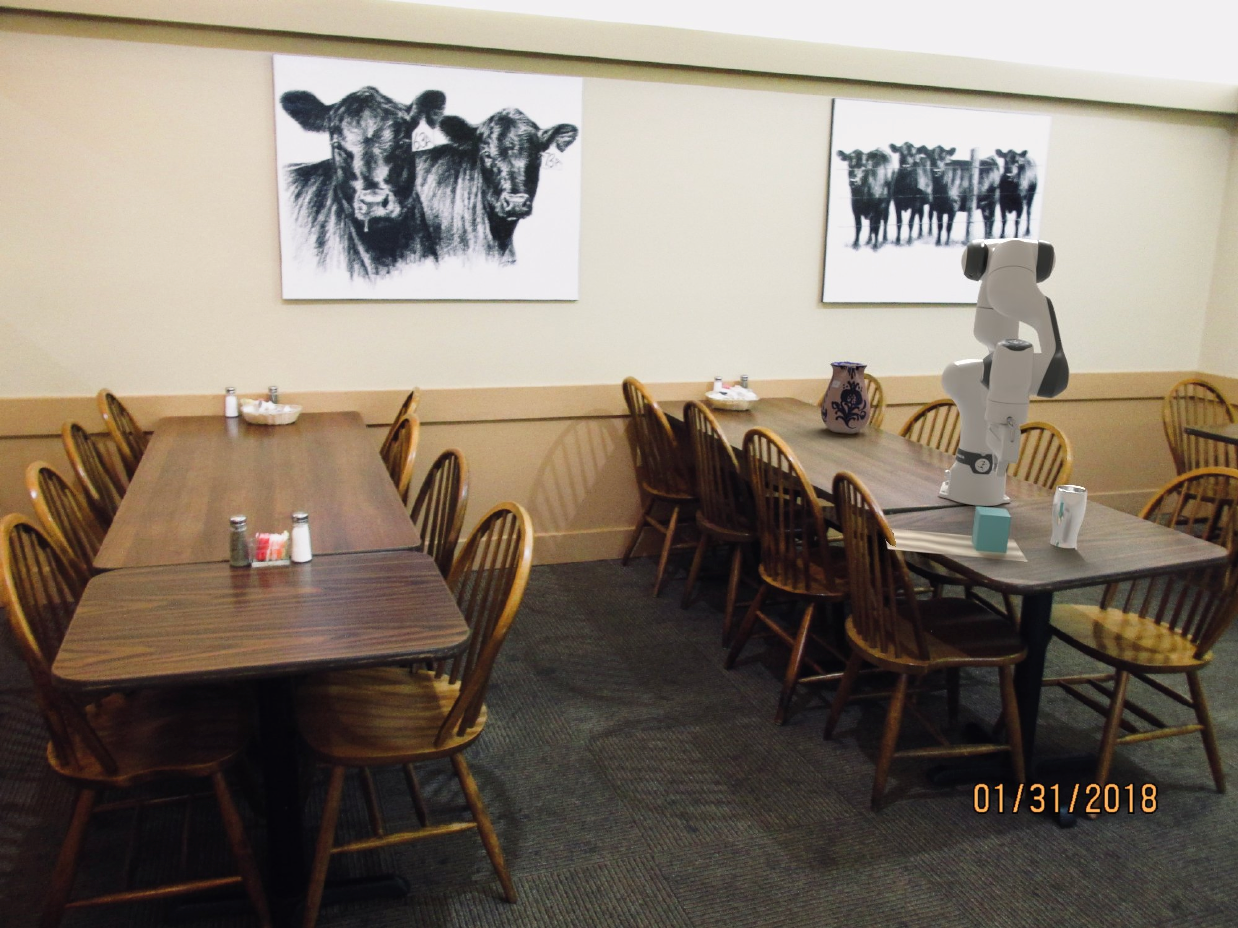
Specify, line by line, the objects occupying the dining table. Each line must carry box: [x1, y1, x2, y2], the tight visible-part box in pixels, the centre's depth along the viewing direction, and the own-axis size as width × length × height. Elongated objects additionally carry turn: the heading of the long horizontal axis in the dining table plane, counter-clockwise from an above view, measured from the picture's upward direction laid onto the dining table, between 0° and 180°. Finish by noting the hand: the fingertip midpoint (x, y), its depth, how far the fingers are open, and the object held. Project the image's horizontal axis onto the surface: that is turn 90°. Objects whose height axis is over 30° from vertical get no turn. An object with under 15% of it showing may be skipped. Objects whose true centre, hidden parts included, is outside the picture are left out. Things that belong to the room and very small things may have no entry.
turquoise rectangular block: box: [971, 505, 1012, 553], centre depth 218 cm, size 7×7×9 cm
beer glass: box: [1049, 484, 1088, 551], centre depth 222 cm, size 7×7×15 cm
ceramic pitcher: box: [820, 360, 871, 435], centre depth 348 cm, size 18×21×25 cm
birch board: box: [885, 528, 1029, 563], centre depth 221 cm, size 16×30×2 cm, turn 78°
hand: (998, 473), depth 215 cm, fingers open, 3 cm apart
